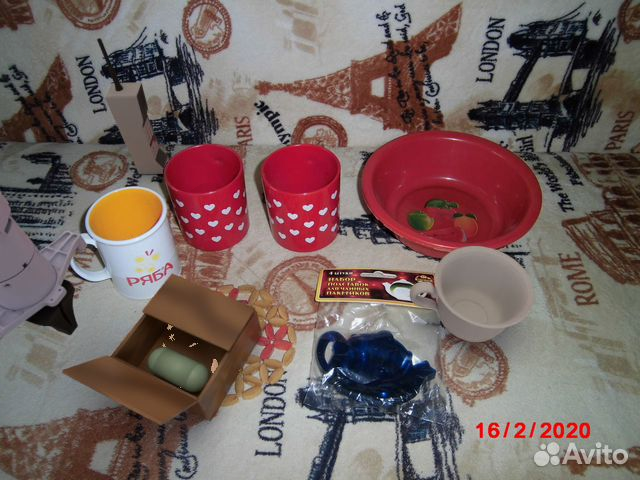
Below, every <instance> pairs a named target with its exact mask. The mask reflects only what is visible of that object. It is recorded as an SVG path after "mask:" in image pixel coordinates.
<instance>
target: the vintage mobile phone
mask: <svg viewBox="0 0 640 480" xmlns="http://www.w3.org/2000/svg"><path fill="white" fill-rule="evenodd" d="M96 41H97V44H98V46H99V48H100V51H101V53H102V55H103V58H104V60H105V63H106V65H107V69H108V73H109V74H110V76H111V80H112V81H113V82H112V83H111V84H110V86H109V88H108V91H107V93H106V95H105V101H106V103H107V106H108V108H109V110H110V113H111V115H112V118H113V119H114V122H115V123H116V126H117V128H118V131H119V133H120V135H121V137H122V140H123V142H124V144H125V147H126V148H127V151H128V153H129V155H130V157H131V160H132V161H133V165H134V166H135V168H136V171H137V173H138V175H164V174H163V169H164V167H165V165H166V163H167V162H168V161H169V162H170V158H169V155H168V154H167V153H166V152H165V151H164V150H162V148H161V146H160V144H159V141H158V139H157V136H156V133H155V131H154V128H153V125H152V123H151V121H150V117H149V115H148V110H149V105H148V101H147V98H146V95H145V94H146V93H145V90H144V86H143V82H121V81H120V79H119V77H118V75H117V72H116V70H115V68H114V66H113V64H112V62H111V59H110V57H109V54H108V52H107V49H106V47H105V45H104V42H103V40H102V38H101V37H98V38H96Z"/></svg>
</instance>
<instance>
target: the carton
mask: <svg viewBox="0 0 640 480" xmlns="http://www.w3.org/2000/svg"><path fill="white" fill-rule="evenodd" d="M141 312H142V313H143V314H142V316H141V317H140V318H139V319H138V321H137V322H136V323H135V324H134V325H133V326H132V328H131V329H130V330H129V332H128V333H127V334H126V336H125V337H124V338H123V340H122V341H121V342H120V343H119V345H118V346H117V347H116V348H115V350H114V351H113V352H112V353H111V355H110V357H112V358H114V359H116V360H118V361H120V362H122V363H124V364H126V365H128V366H130V367H132V368H134V369H136V370H138V371H140V372H142V373H144V374H146V375H148V376H150V377H152V378H154V379H156V380H158V381H160V382H162V383H164V384H166V385H168V386H170V387H172V388H174V389H176V390H178V391H180V392H182V393H184V394H186V395H188V396H190V397H192V398H194V399H196V400H197V403H196V404H194V405H193V406H191V407H190V408H188V409H187V411H190V412H192V413H193V414H195V415H198V416H200V417H201V418H204V419H205V420H207V421H209V422H212V420H213V418H214V416H215V415H216V413H217V411H218V410H219V408H220V406H221V405H222V403H223V401H224V399H225V398H226V396H227V394H228V393H229V392H230V389H231V388H232V386H233V384H234V383H235V381H236V379H237V378H238V376H239V374H240V372H241V371H242V369H243V368H244V366H245V364H246V362H247V361H248V359H249V358H250V356H251V354H252V353H253V351H254V349H255V347H256V345H257V344H258V342H259V341H260V339H261V337H262V335H263V332H262V331H263V330H262V328H261V323H260V319H259V315H258V312H257V310H256V307H254V306H252V305H249V304H247V303H244V302H242V301H239V300H238V299H235V298H232V297H230V296H227V295H225V294H222V293H220V292H218V291H215V290H213V289H211V288H208V287H205V286H203V285H201V284H198V283H196V282H194V281H191V280H189V279H186V278H184V277H182V276H179V275H178V274H174V273H171V274H170V275H169V276H168V277H167V279H166V280H165V281H164V282H163V284H162V285H161V286H160V288H159V289H158V290H157V291H156V293H155V294H153V296H152V298H151V299H150V300H149V301H148V303H147V304H146V305H145V307H144V308H143V309H142V310H141ZM168 324H169V325H171V326H173V327H172V328H171V330H170V329H169V330H168V329H167V327H168ZM171 334H172V335H173V334H174V336H173V338H174V339H175V340H174V339H173V338H172V340H173V341H172V340H171V339H169V338H170V337H169V336H171ZM163 343H164V344H165V346H166V347H165V348H169V349H172V350H174V351H176V352H178V353H180V354H182V355H184V356H186V357H189V358H191V359H193V360H195V361H197V362H199V363H201V364H203V365H205V366H206V367H207V369H208V371H209V375H210V378H209V381H208V383H207V384H206V386H205V387H204V389H203V390H201V391H198V392H189V391H187V390H185V389H183V388H180V387H179V386H177V385H175V384H173V383H171V382H169V381H167V380H164V379H162V378H160V377H158V376H156V375H155V374H153V373H152V372H151V371H150V369H149V367H148V359H149V356H150V355H151V353H152V352H153V351H154V350H156V349H158V348H162V347H163V346H162V345H163ZM193 343H196V345H194V346H192V347H189V346H190V345H192V344H193ZM197 343H198V344H197ZM213 359H216V360H217V362H218V367H217V368H216V370H215V371H214V373H212V371H211V366H212V363H213ZM240 369H241V370H240ZM239 370H240V371H239Z"/></svg>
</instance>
